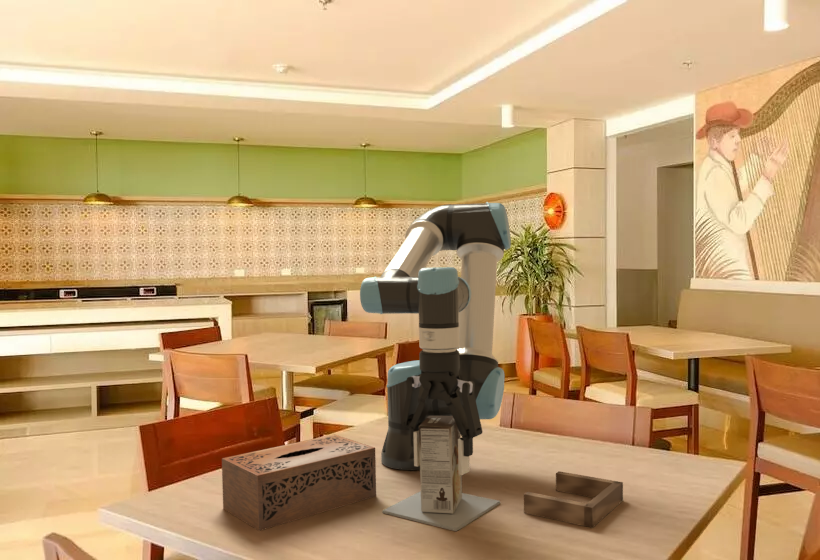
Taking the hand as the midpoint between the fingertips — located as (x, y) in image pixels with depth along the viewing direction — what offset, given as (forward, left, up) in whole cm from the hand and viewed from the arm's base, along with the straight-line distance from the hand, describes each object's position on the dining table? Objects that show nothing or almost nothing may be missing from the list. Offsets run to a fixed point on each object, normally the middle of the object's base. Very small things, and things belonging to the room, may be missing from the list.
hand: (441, 468), depth 129 cm
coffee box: (0, 0, -7) cm, 7 cm away
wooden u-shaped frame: (+20, +14, -8) cm, 26 cm away
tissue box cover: (-25, -12, -8) cm, 29 cm away
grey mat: (0, 0, -8) cm, 8 cm away
